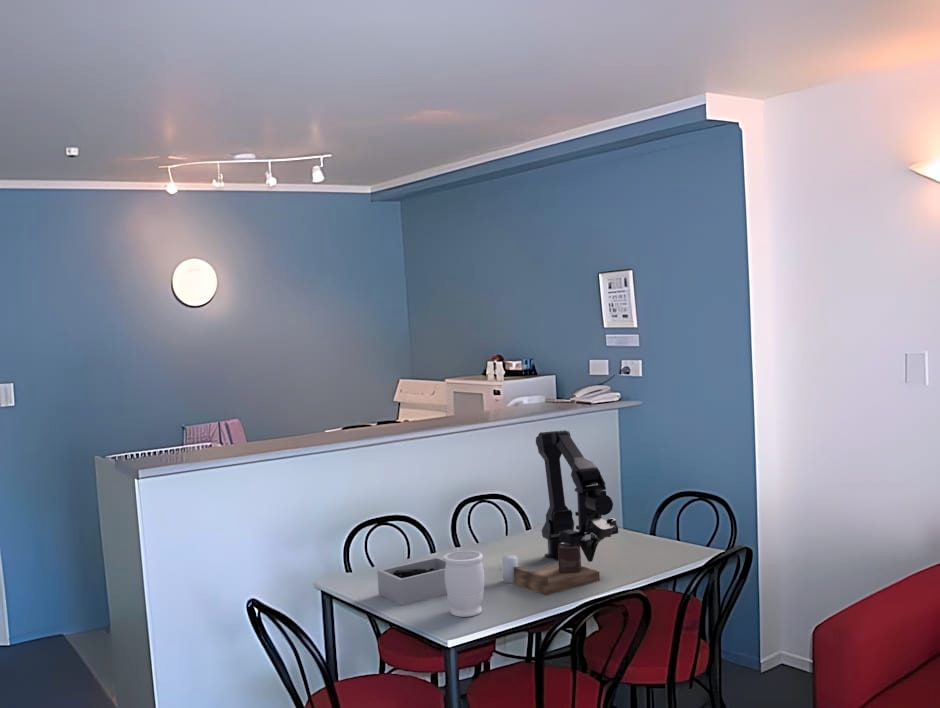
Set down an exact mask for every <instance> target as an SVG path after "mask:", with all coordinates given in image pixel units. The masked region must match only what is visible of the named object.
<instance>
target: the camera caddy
mask: <svg viewBox="0 0 940 708" xmlns="http://www.w3.org/2000/svg"><path fill="white" fill-rule="evenodd" d="M445 566H446V562H445V561H444V558H441V557H439V556H434V557H431V558H425V559H422V560H417V561H413V562H409V563H405V564H399V565H395V566H390V567H386V568H382V569H377V570H376V571H377V586H378V588H377V589H378V595H379V596H380V597H382V598H385V599H387V600H389V601H391V602H392V603H395V604H398V605H399V606H401V607H403V606H406V605H409V604H414V603H417V602H422V601H427V600H429V599H430V600H431V599H433V598H437V597H441V596H446V595H447V590H446V586H445ZM420 568H421V569H426V570H429V569H430V568H434V570H435V569H439V570H436V571H432V572H428V573H423V574H419V575H415V576H410V577H406V578H399V577H397V576H394V575H393V573H394V572H395V571H397V570H407V569H420Z"/></svg>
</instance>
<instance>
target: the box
mask: <svg viewBox="0 0 940 708" xmlns="http://www.w3.org/2000/svg"><path fill="white" fill-rule="evenodd" d="M581 556H582V555H581V547H580V543H575V544H569V543H560V544H559V546H558V559H557V561H558V564H559V572H564V573H565V572H575V573H578V572H580V570H581V566H582V557H581Z"/></svg>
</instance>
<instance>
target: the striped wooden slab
mask: <svg viewBox="0 0 940 708" xmlns="http://www.w3.org/2000/svg"><path fill="white" fill-rule="evenodd" d="M600 576H601V575H600V571H598V570H595V569H592V568H589V567H586V566H582V565H581V570H580V572H578V573H575V572H565V573H564V572H559V563H558V564H554V565H551V566H547V567H543V568H542V567H541V568H537V569H535V570H530V569H526V568H524V567H523V568H522V567H520V566H518V567H517V566H516V567H514V583H513V584H514V585H516V586H518V587H521V588H524V589H527V590H529V591H532V592H535V593H539V594H541V595H544V596H547V595H551V594H554V593H559V592H563V591H566V590H569V589H573V588H577V587H580V585H581V586H583V585H588V584H591V583H594V582H599V581H600V579H601V578H600Z"/></svg>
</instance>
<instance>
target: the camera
mask: <svg viewBox="0 0 940 708" xmlns="http://www.w3.org/2000/svg"><path fill="white" fill-rule="evenodd" d="M436 570H439V569H435V570H434V568H430V569H429V570H426V569H421V568H420V569H407V570H397V571H395V572H394V573H393V575H394V576H397V577H399V578H406V577H410V576H415V575H419V574H423V573H428V572H432V571H436Z"/></svg>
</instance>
